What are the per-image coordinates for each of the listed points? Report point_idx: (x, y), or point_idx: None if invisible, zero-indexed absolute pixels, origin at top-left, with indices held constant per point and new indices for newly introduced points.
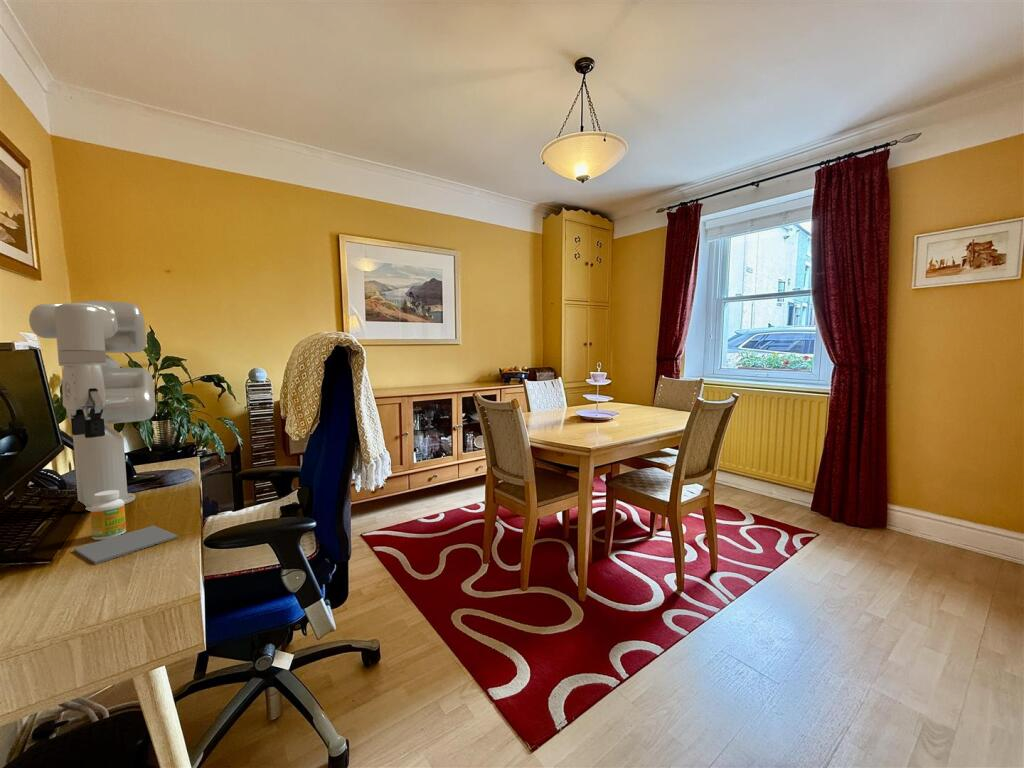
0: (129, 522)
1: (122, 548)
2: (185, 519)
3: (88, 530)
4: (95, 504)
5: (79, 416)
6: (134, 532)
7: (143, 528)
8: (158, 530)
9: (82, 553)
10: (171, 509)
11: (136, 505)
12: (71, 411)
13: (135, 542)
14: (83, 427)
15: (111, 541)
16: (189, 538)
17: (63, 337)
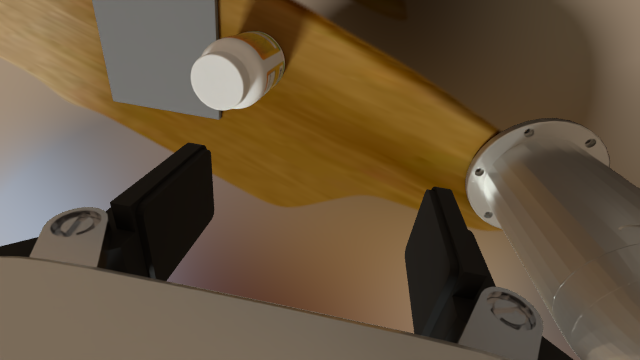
0: (311, 121)
1: (122, 20)
2: (220, 165)
3: (345, 60)
4: (226, 50)
5: (446, 320)
6: None
7: None
8: (175, 104)
9: None
10: (316, 194)
11: None
12: (523, 353)
13: (138, 49)
14: (419, 254)
15: (188, 33)
16: (100, 106)
17: None
